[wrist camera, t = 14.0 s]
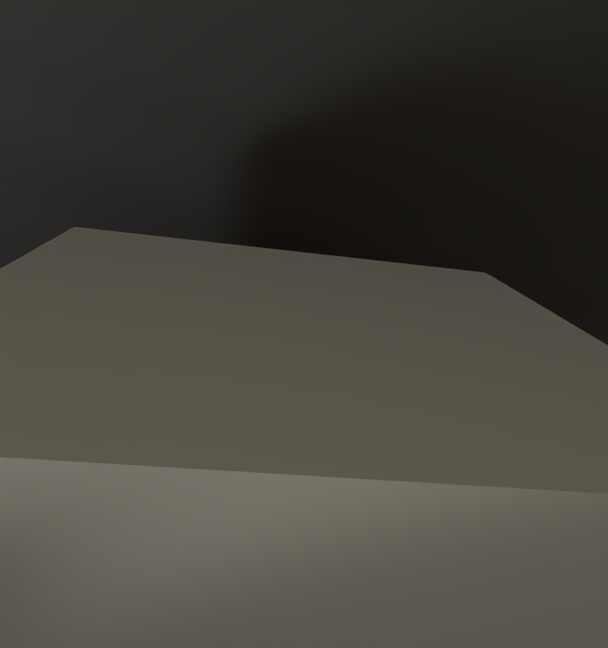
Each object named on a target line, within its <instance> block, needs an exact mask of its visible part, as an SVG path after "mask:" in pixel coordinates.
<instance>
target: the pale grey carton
mask: <svg viewBox="0 0 608 648" xmlns="http://www.w3.org/2000/svg"><path fill="white" fill-rule="evenodd" d="M0 648H608V345H606V344H605V343H603V342H601V341H600V340H598V339H596V338H595V337H593V336H591V335H590V334H588V333H586V332H584V331H583V330H581V329H579V328H578V327H576V326H574V325H573V324H571V323H569V322H568V321H566V320H564V319H563V318H561V317H559V316H558V315H556V314H554V313H553V312H551V311H549V310H548V309H546V308H544V307H542V306H541V305H539V304H537V303H536V302H534V301H532V300H531V299H529V298H527V297H526V296H524V295H522V294H521V293H519V292H517V291H516V290H514V289H512V288H511V287H509V286H507V285H506V284H504V283H502V282H500V281H499V280H497V279H495V278H494V277H492V276H490V275H489V274H487V273H484V272H475V271H466V270H457V269H448V268H440V267H431V266H422V265H413V264H404V263H395V262H386V261H377V260H368V259H359V258H350V257H341V256H332V255H323V254H314V253H305V252H296V251H287V250H278V249H269V248H260V247H251V246H242V245H233V244H224V243H215V242H206V241H197V240H188V239H179V238H170V237H161V236H152V235H143V234H134V233H125V232H116V231H107V230H98V229H89V228H80V227H73V228H72V229H70V230H68V231H66V232H64V233H63V234H61V235H59V236H57V237H56V238H54V239H52V240H50V241H48V242H47V243H45V244H43V245H41V246H40V247H38V248H36V249H34V250H32V251H31V252H29V253H27V254H25V255H24V256H22V257H20V258H18V259H16V260H15V261H13V262H11V263H9V264H8V265H6V266H4V267H2V268H1V269H0Z"/></svg>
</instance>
